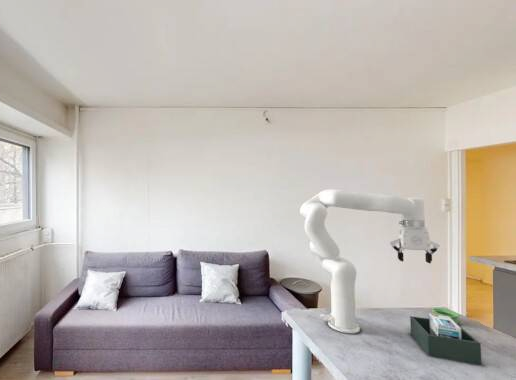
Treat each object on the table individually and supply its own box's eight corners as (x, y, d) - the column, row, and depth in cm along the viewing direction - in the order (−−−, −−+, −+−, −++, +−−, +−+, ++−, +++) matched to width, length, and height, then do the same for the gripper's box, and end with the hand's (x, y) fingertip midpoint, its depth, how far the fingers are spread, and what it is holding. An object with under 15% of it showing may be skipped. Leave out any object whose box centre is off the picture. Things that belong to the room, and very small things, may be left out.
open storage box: (428, 355, 100) (427, 335, 100) (410, 333, 115) (410, 316, 115) (481, 365, 94) (480, 343, 94) (455, 340, 109) (454, 322, 109)
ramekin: (441, 325, 122) (440, 315, 122) (427, 316, 131) (427, 307, 131) (464, 326, 120) (464, 317, 120) (449, 317, 129) (448, 308, 129)
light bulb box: (463, 357, 97) (462, 328, 97) (438, 352, 101) (437, 324, 101) (451, 342, 107) (450, 316, 107) (429, 338, 110) (428, 312, 110)
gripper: (392, 224, 120) (393, 262, 120) (442, 225, 113) (443, 265, 113) (387, 222, 127) (388, 258, 127) (434, 223, 120) (435, 261, 120)
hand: (414, 261), depth 120 cm, fingers open, 9 cm apart
